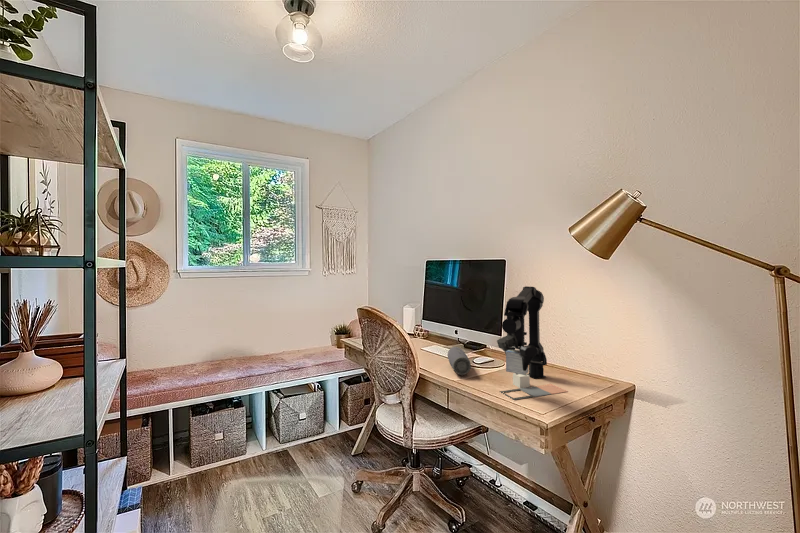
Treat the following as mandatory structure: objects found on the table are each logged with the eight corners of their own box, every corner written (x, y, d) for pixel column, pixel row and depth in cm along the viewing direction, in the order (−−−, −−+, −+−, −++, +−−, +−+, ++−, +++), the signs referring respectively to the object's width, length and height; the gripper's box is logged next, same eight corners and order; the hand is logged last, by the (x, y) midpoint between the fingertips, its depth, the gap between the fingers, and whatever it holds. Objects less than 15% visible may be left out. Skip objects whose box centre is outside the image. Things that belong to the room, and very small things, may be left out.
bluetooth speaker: (472, 377, 179) (472, 356, 179) (452, 377, 179) (452, 356, 179) (464, 364, 202) (464, 345, 202) (446, 364, 202) (446, 345, 202)
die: (512, 384, 168) (512, 373, 168) (522, 383, 170) (522, 372, 170) (520, 388, 163) (520, 376, 163) (529, 387, 165) (529, 375, 165)
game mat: (499, 392, 159) (499, 391, 159) (550, 384, 168) (550, 383, 168) (514, 400, 149) (514, 399, 149) (567, 391, 158) (567, 391, 158)
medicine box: (528, 373, 155) (528, 351, 154) (524, 375, 151) (524, 353, 151) (510, 369, 160) (510, 348, 160) (505, 371, 157) (505, 350, 156)
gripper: (487, 327, 161) (487, 363, 162) (514, 335, 144) (515, 376, 144) (509, 325, 165) (509, 361, 165) (538, 332, 148) (539, 373, 148)
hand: (517, 367), depth 156 cm, fingers closed on medicine box, 9 cm apart
